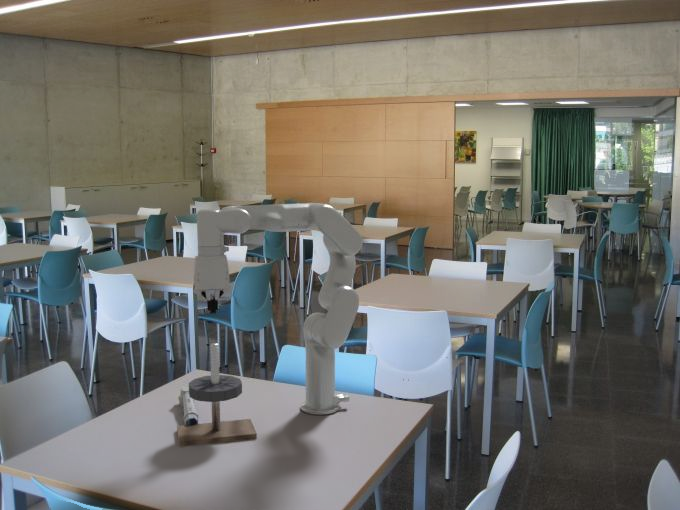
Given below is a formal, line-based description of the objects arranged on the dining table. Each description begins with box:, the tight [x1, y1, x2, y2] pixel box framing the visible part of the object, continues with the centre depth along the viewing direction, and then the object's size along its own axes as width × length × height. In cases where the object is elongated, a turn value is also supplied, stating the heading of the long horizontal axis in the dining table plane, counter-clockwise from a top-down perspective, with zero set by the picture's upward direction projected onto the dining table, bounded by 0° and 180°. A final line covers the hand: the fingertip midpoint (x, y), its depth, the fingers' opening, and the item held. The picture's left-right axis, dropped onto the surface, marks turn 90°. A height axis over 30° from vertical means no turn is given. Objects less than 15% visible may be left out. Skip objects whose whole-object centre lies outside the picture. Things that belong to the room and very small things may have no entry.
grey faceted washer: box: [188, 374, 243, 403], centre depth 206 cm, size 15×15×3 cm
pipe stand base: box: [176, 418, 258, 448], centre depth 208 cm, size 22×12×2 cm, turn 106°
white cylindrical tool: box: [177, 385, 199, 425], centre depth 224 cm, size 5×7×25 cm
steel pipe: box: [209, 342, 221, 431], centre depth 206 cm, size 3×3×26 cm
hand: (212, 312), depth 209 cm, fingers closed
